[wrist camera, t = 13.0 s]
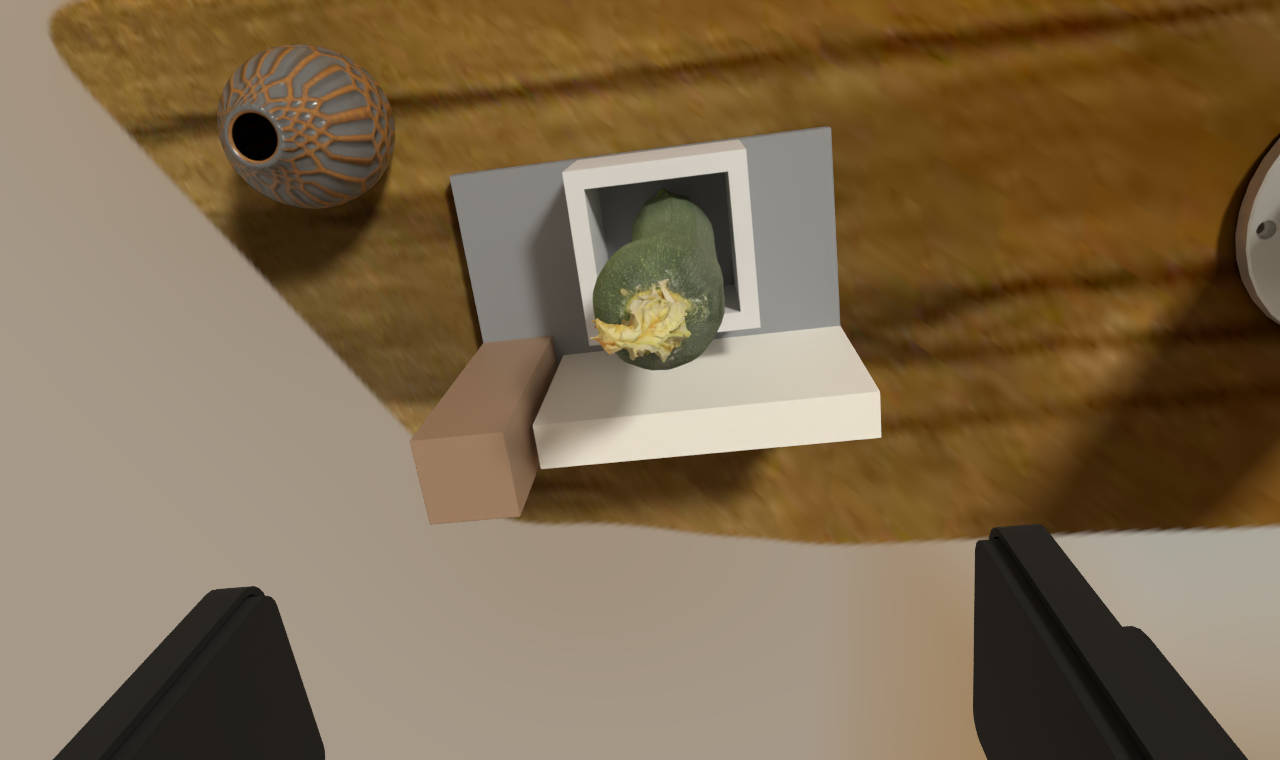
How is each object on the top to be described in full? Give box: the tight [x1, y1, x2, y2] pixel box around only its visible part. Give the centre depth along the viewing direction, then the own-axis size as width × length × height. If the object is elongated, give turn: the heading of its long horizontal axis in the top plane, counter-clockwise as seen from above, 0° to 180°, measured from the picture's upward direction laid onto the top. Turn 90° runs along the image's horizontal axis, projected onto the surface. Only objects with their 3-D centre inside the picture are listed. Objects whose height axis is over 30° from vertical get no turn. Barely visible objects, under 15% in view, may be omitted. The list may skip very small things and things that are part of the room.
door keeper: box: [410, 126, 881, 524], centre depth 35 cm, size 18×12×13 cm, turn 97°
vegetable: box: [590, 188, 725, 370], centre depth 30 cm, size 4×4×20 cm
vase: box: [217, 44, 395, 209], centre depth 36 cm, size 7×7×9 cm
